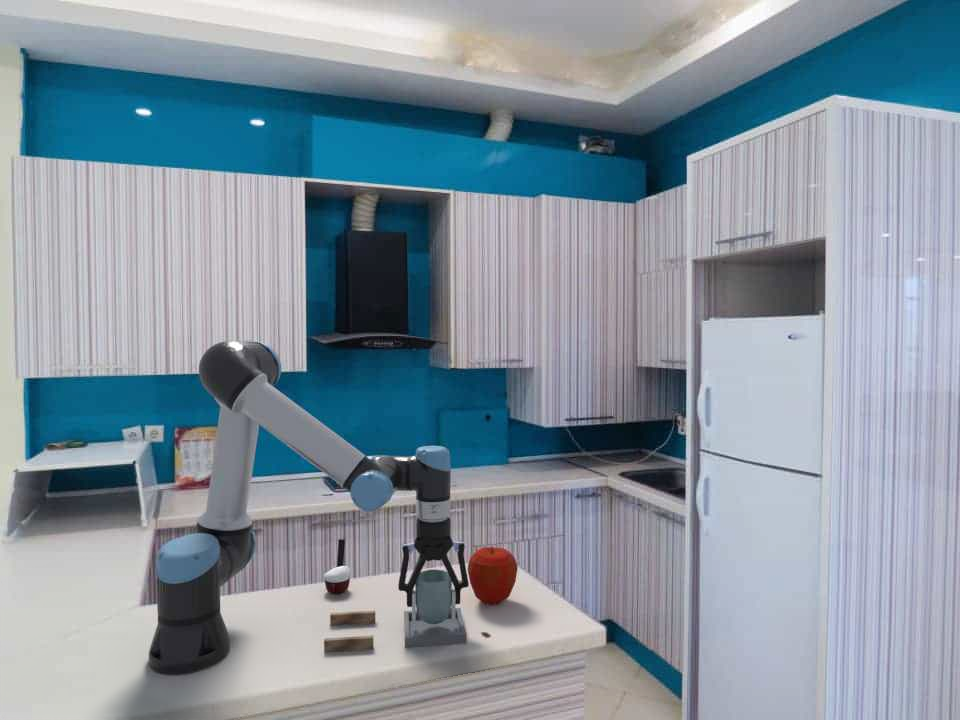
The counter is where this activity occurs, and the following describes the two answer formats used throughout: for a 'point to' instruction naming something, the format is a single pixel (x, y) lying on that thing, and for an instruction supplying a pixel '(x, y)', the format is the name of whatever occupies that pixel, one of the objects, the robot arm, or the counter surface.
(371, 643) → the dock rails
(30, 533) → the counter surface
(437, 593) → the cup
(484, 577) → the apple
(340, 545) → the cocoa
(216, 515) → the robot arm
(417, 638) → the dock cradle
